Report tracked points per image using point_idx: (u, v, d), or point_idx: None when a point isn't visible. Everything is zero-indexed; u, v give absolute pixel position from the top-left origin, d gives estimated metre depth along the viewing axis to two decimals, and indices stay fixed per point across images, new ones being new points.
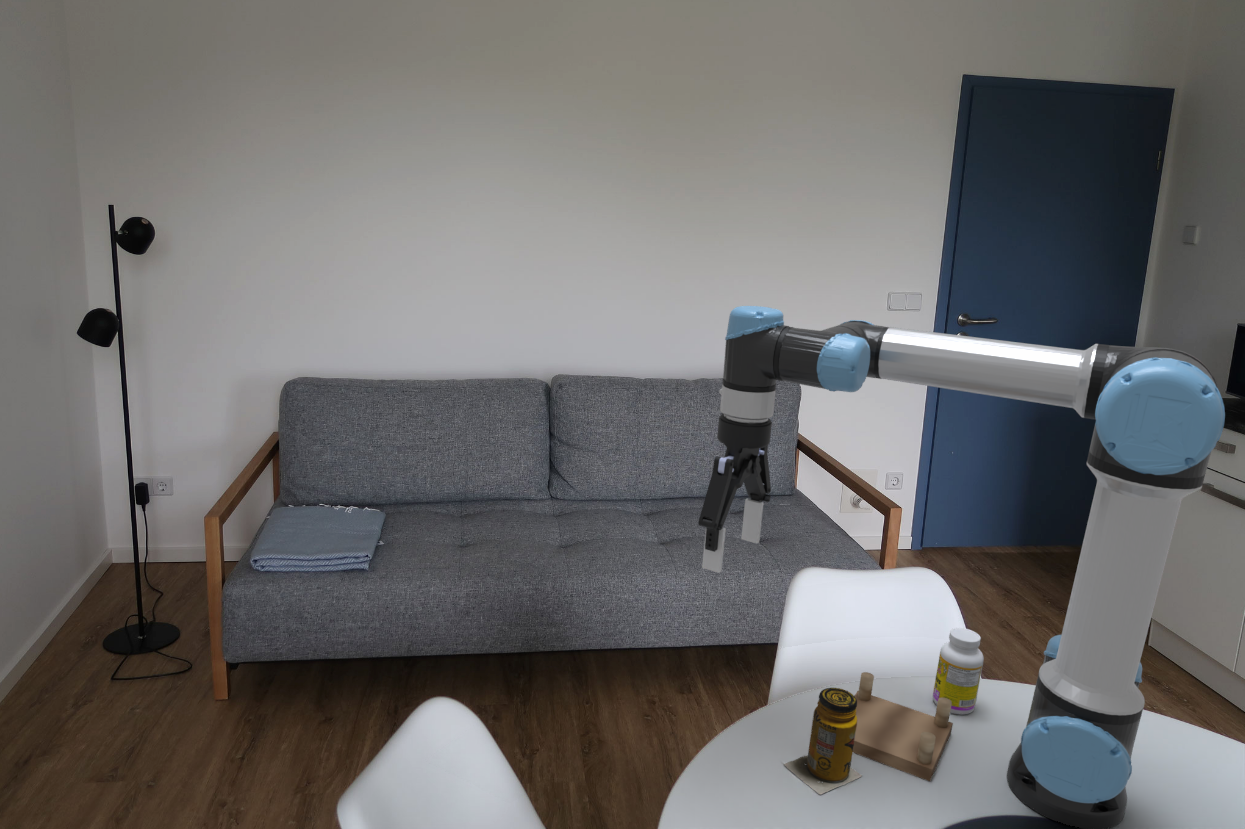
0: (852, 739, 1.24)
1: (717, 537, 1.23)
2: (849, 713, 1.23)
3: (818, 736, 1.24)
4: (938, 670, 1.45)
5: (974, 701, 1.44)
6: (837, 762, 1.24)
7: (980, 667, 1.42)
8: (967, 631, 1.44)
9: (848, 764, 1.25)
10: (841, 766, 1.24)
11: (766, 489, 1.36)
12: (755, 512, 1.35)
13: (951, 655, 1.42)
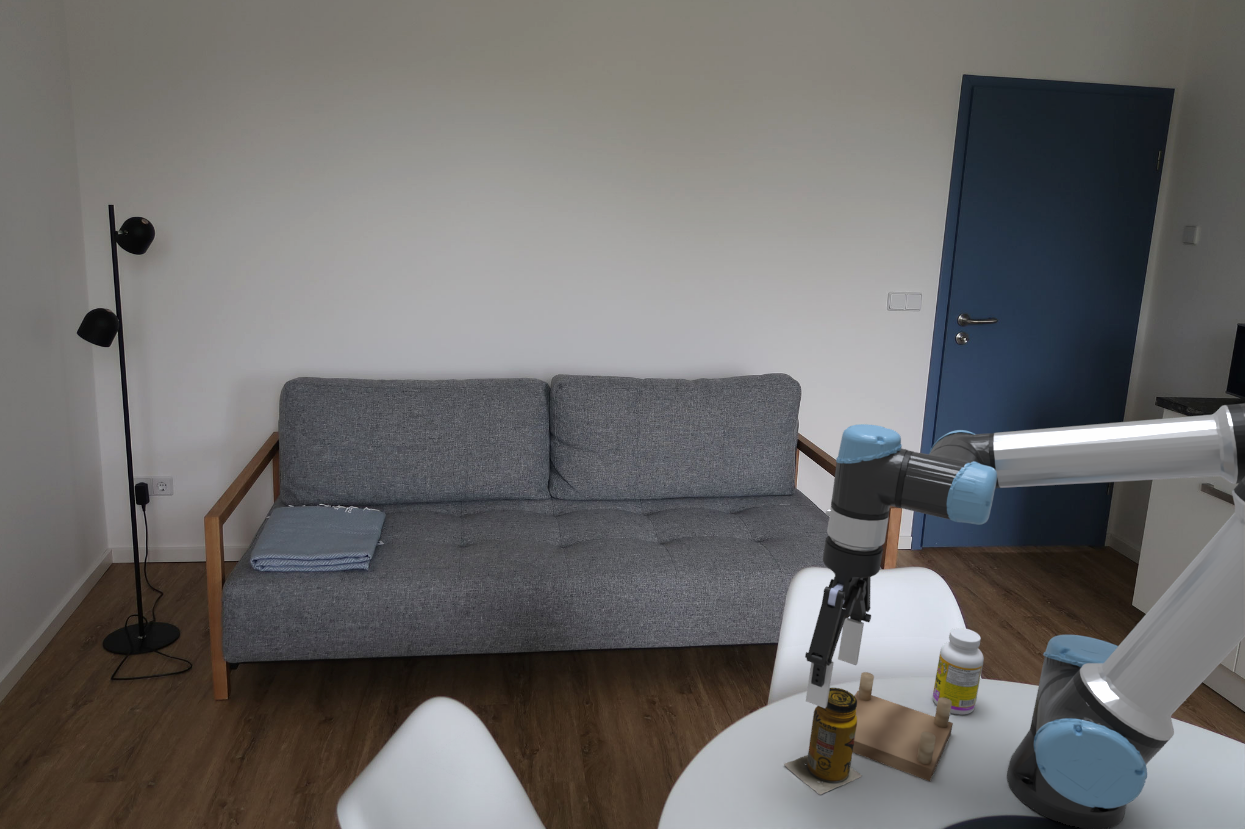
0: (852, 739, 1.24)
1: (825, 672, 1.16)
2: (849, 713, 1.23)
3: (818, 736, 1.24)
4: (938, 670, 1.45)
5: (974, 701, 1.44)
6: (837, 762, 1.24)
7: (980, 667, 1.42)
8: (967, 631, 1.44)
9: (848, 764, 1.25)
10: (841, 766, 1.24)
11: (866, 608, 1.28)
12: (855, 633, 1.28)
13: (951, 655, 1.42)
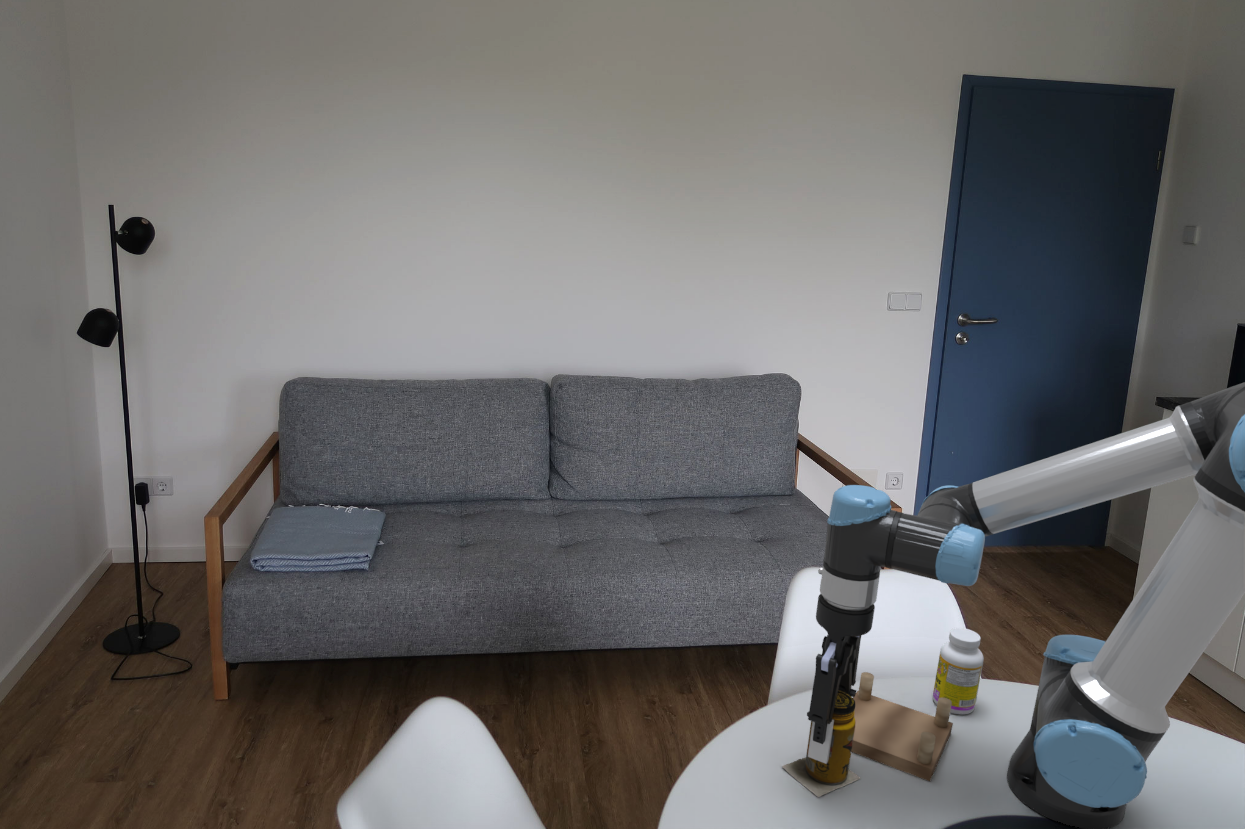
0: (850, 741, 1.23)
1: (825, 729, 1.21)
2: (847, 715, 1.22)
3: None
4: (938, 670, 1.45)
5: (974, 701, 1.44)
6: (836, 764, 1.23)
7: (980, 667, 1.42)
8: (967, 631, 1.44)
9: (846, 766, 1.24)
10: (839, 768, 1.23)
11: (852, 680, 1.28)
12: None
13: (951, 655, 1.42)
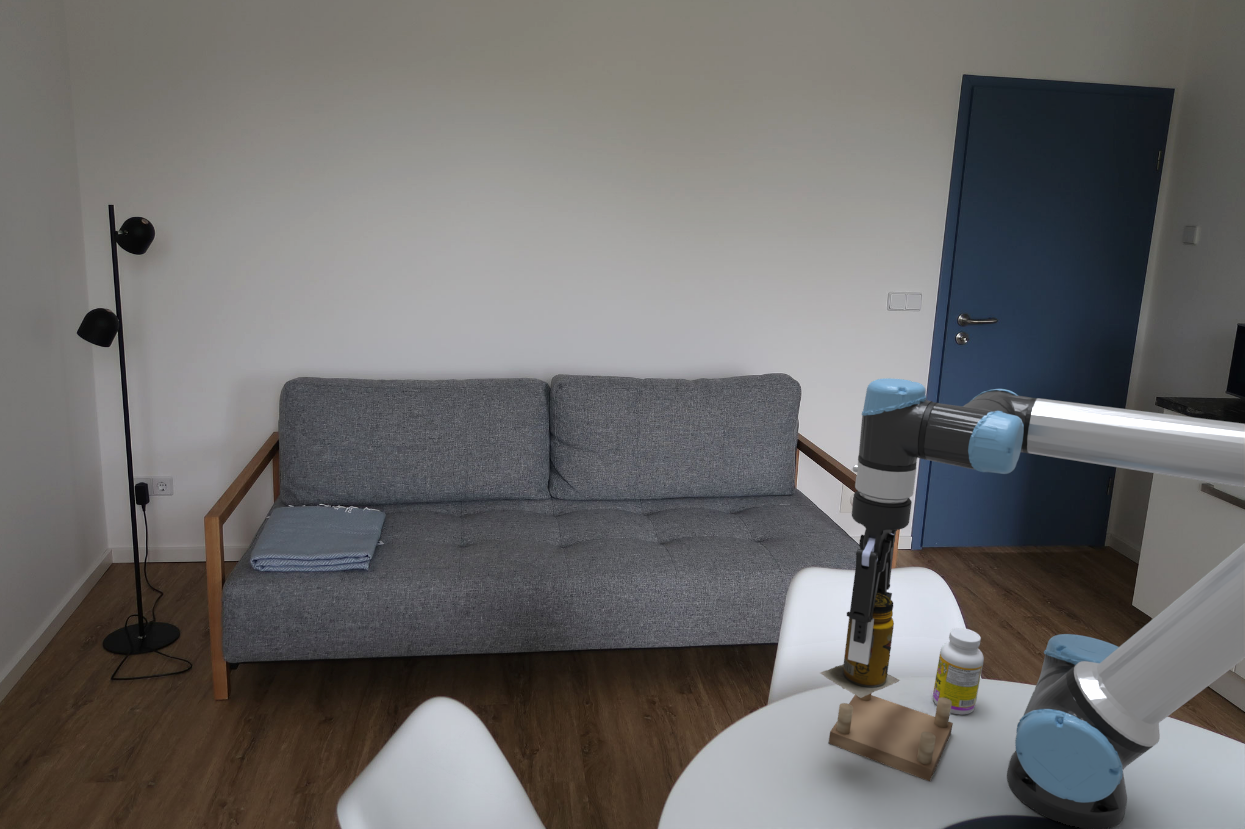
0: (890, 641, 1.22)
1: (866, 629, 1.20)
2: (887, 613, 1.21)
3: None
4: (938, 670, 1.45)
5: (974, 701, 1.44)
6: (876, 665, 1.22)
7: (980, 667, 1.42)
8: (967, 631, 1.44)
9: (886, 668, 1.23)
10: (879, 669, 1.22)
11: (887, 583, 1.27)
12: None
13: (951, 655, 1.42)
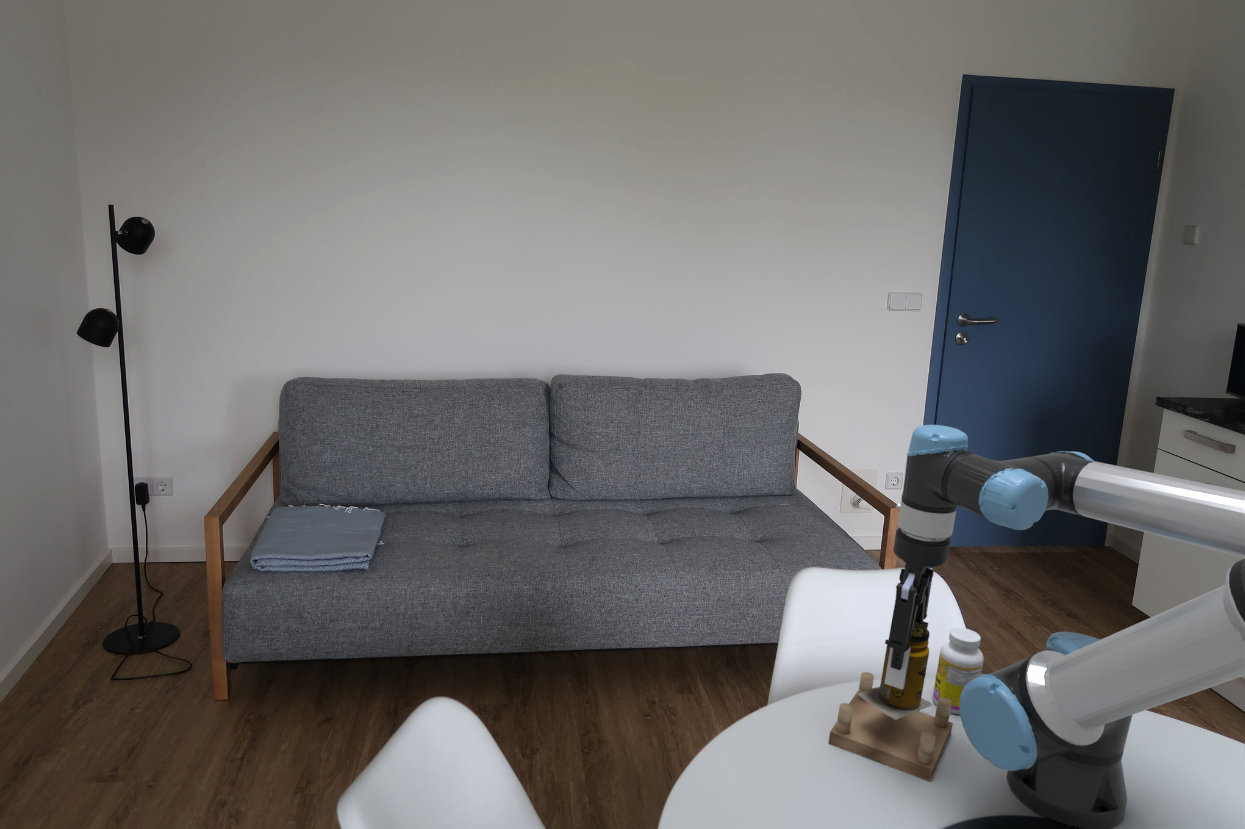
0: (924, 668, 1.31)
1: (903, 656, 1.28)
2: (923, 643, 1.29)
3: None
4: (938, 670, 1.45)
5: None
6: (911, 689, 1.30)
7: (980, 667, 1.42)
8: (967, 631, 1.44)
9: (920, 692, 1.31)
10: (914, 694, 1.31)
11: (924, 613, 1.35)
12: None
13: (951, 655, 1.42)
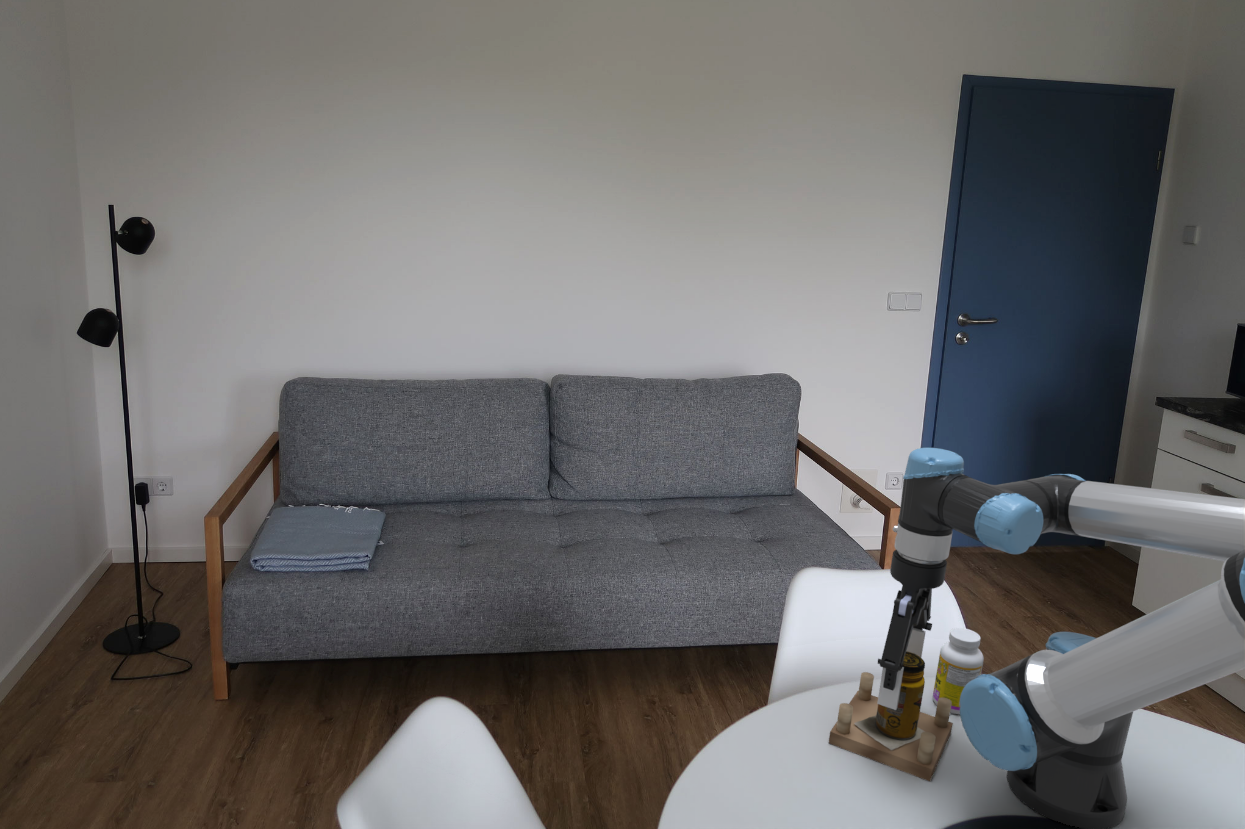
0: (920, 698, 1.31)
1: (896, 676, 1.26)
2: (918, 673, 1.30)
3: None
4: (938, 670, 1.45)
5: None
6: (906, 719, 1.31)
7: (980, 667, 1.42)
8: (967, 631, 1.44)
9: (916, 722, 1.32)
10: (910, 724, 1.31)
11: (927, 617, 1.38)
12: (917, 640, 1.37)
13: (951, 655, 1.42)
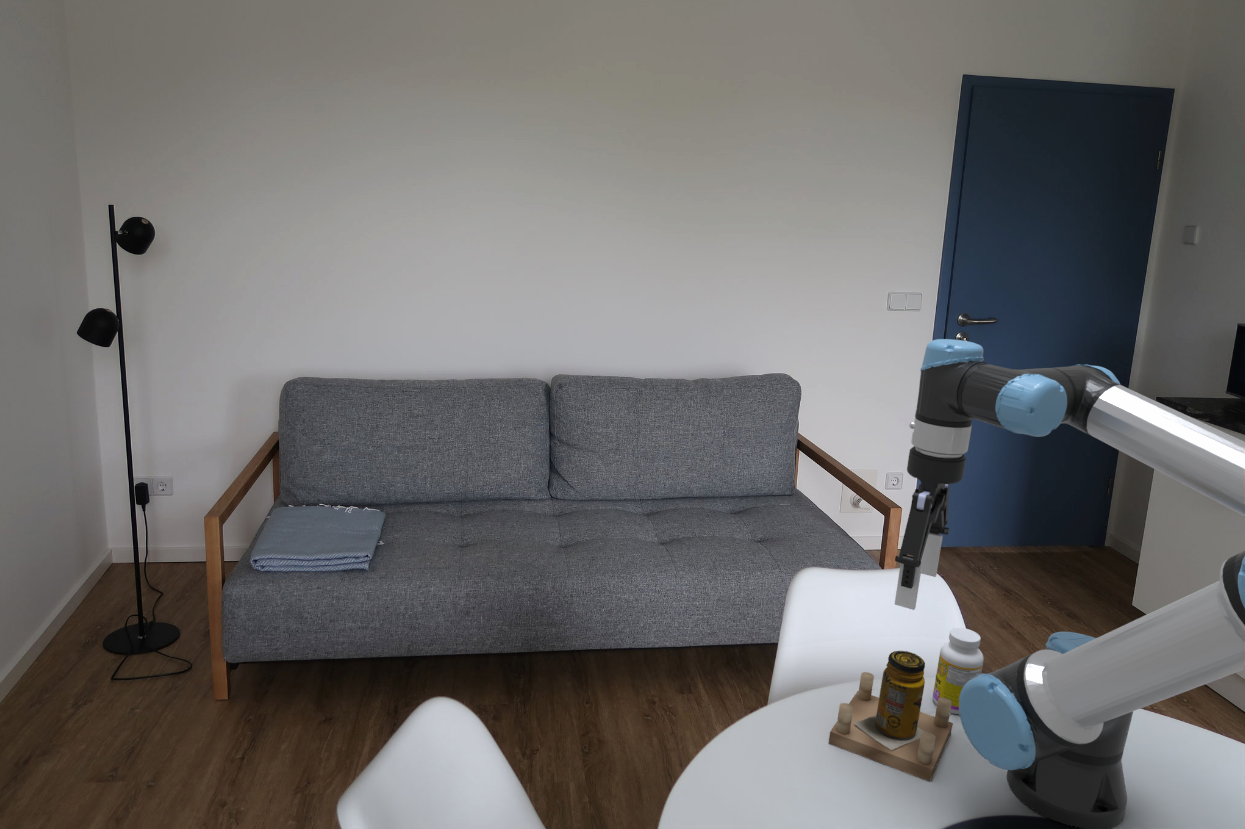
0: (920, 698, 1.31)
1: (914, 574, 1.22)
2: (918, 673, 1.30)
3: (888, 695, 1.32)
4: (938, 670, 1.45)
5: None
6: (906, 720, 1.31)
7: (980, 667, 1.42)
8: (967, 631, 1.44)
9: (916, 722, 1.32)
10: (910, 724, 1.31)
11: (944, 522, 1.34)
12: (934, 545, 1.34)
13: (951, 655, 1.42)
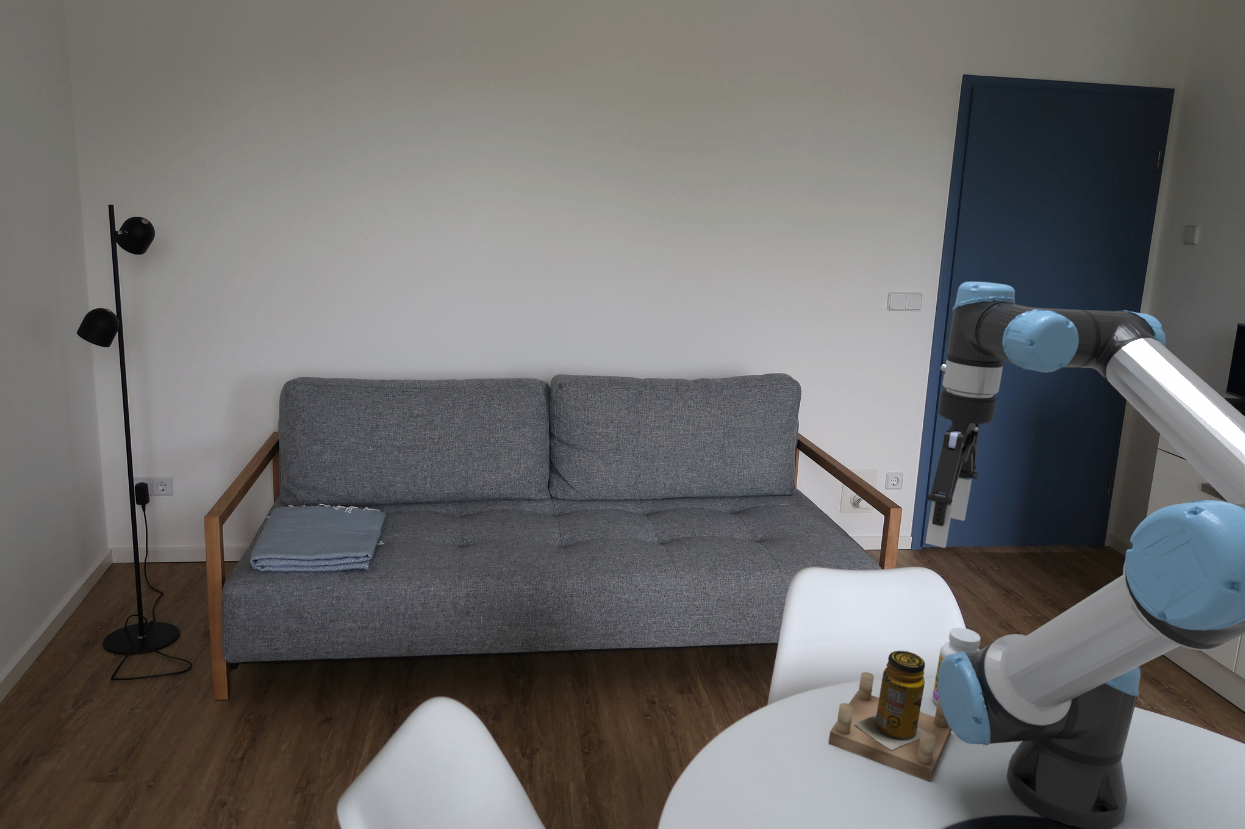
0: (920, 698, 1.31)
1: (945, 512, 1.24)
2: (918, 673, 1.30)
3: (888, 695, 1.32)
4: (938, 670, 1.45)
5: None
6: (906, 720, 1.31)
7: None
8: (967, 631, 1.44)
9: (916, 722, 1.32)
10: (910, 724, 1.31)
11: (973, 466, 1.37)
12: (963, 489, 1.36)
13: None
